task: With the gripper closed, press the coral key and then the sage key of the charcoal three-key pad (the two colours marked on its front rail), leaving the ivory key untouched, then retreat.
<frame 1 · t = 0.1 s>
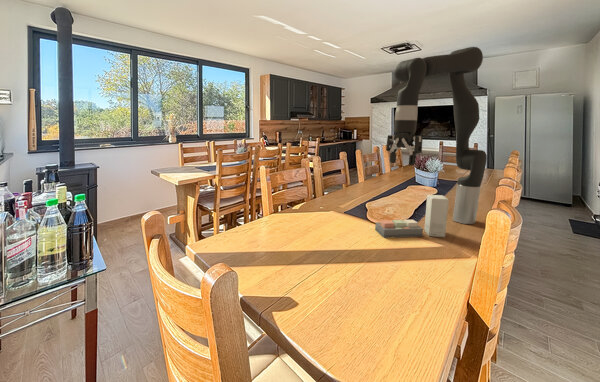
hand: (401, 164, 106), 29 cm above the table, fingers open, 8 cm apart
skincare box: (433, 233, 118), on the table
key coral: (387, 224, 116), point 4 cm above the table, slide at 0.0 cm
key ivory: (410, 223, 117), point 4 cm above the table, slide at 0.0 cm
key sage: (398, 223, 117), point 4 cm above the table, slide at 0.0 cm
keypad: (397, 233, 117), on the table
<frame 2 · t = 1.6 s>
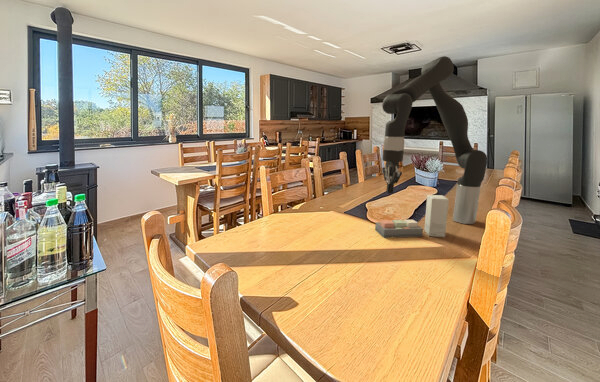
hand: (389, 192, 113), 17 cm above the table, fingers closed
nothing on the table moved.
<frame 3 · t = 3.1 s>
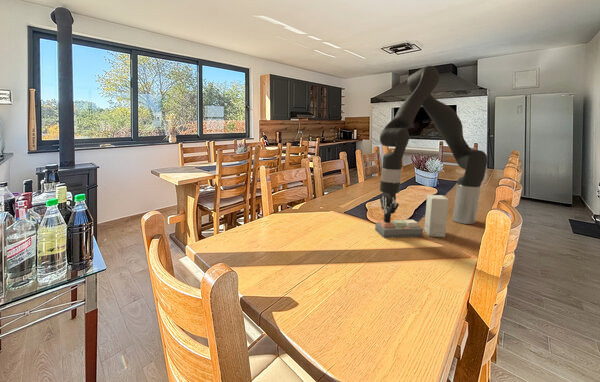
hand: (386, 222, 116), 5 cm above the table, fingers closed
key coral: (387, 224, 116), point 4 cm above the table, slide at 0.2 cm, touching gripper
everything else where it was.
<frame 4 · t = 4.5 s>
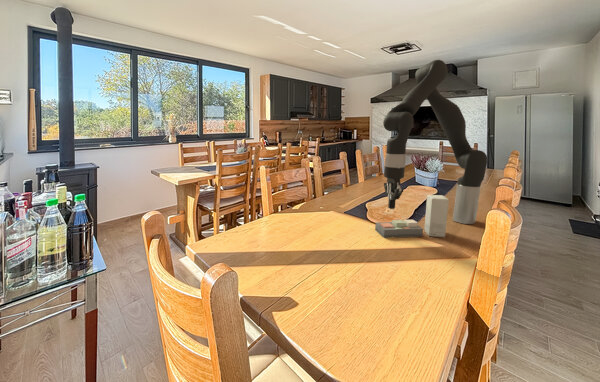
hand: (391, 208, 115), 11 cm above the table, fingers closed
key coral: (386, 227, 116), point 3 cm above the table, slide at 1.3 cm
everything else where it was.
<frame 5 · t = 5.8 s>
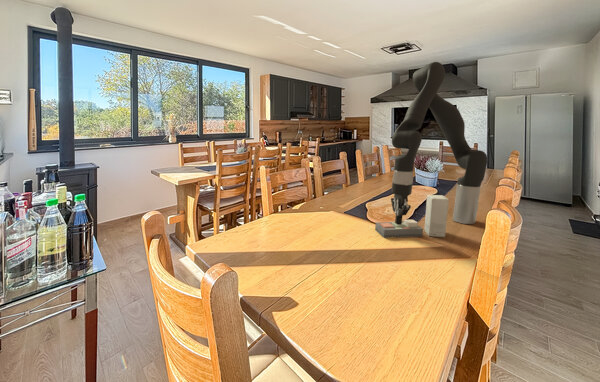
hand: (398, 223, 117), 4 cm above the table, fingers closed
key sage: (398, 226, 117), point 3 cm above the table, slide at 1.0 cm, touching gripper
everything else where it was.
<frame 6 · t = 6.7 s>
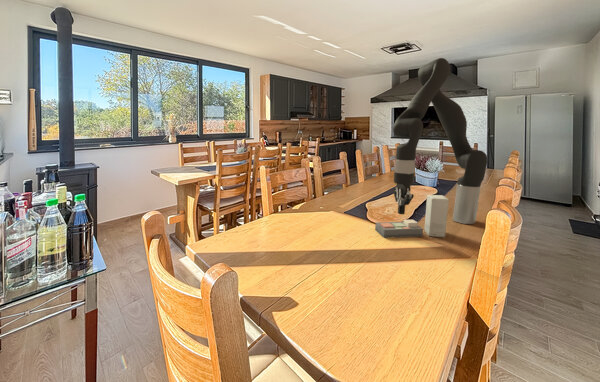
hand: (401, 213, 115), 8 cm above the table, fingers closed
key sage: (398, 226, 117), point 3 cm above the table, slide at 1.3 cm
everything else where it was.
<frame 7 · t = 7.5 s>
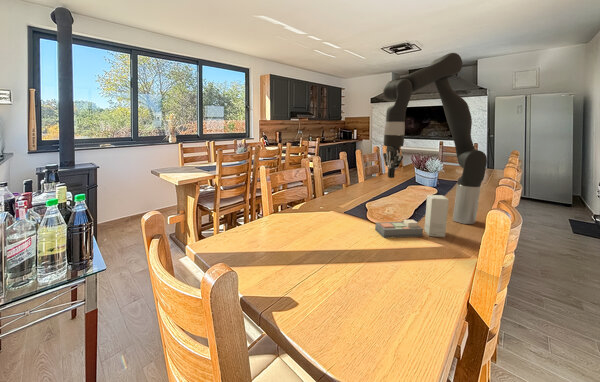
hand: (390, 177, 116), 23 cm above the table, fingers closed
nothing on the table moved.
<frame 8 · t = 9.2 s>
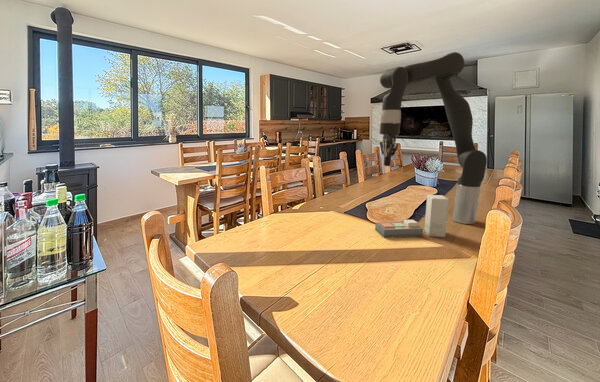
hand: (386, 165, 117), 27 cm above the table, fingers closed
nothing on the table moved.
at the end: key coral slide at 1.3 cm; key sage slide at 1.3 cm; key ivory slide at 0.0 cm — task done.
